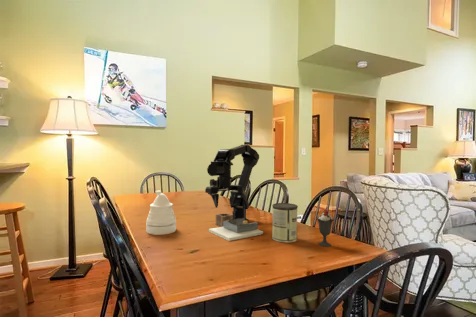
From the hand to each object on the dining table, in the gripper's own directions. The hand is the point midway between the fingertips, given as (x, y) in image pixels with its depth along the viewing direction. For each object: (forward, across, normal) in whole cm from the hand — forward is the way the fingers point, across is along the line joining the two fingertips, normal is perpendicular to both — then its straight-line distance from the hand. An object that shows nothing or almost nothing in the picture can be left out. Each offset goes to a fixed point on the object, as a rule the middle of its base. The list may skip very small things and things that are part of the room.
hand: (224, 206), depth 136 cm
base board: (+9, +3, +14) cm, 17 cm away
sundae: (+9, -17, +46) cm, 50 cm away
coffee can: (+9, -9, +32) cm, 34 cm away
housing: (+8, 0, +13) cm, 15 cm away
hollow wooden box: (+9, 0, 0) cm, 9 cm away
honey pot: (+9, +29, -7) cm, 31 cm away
